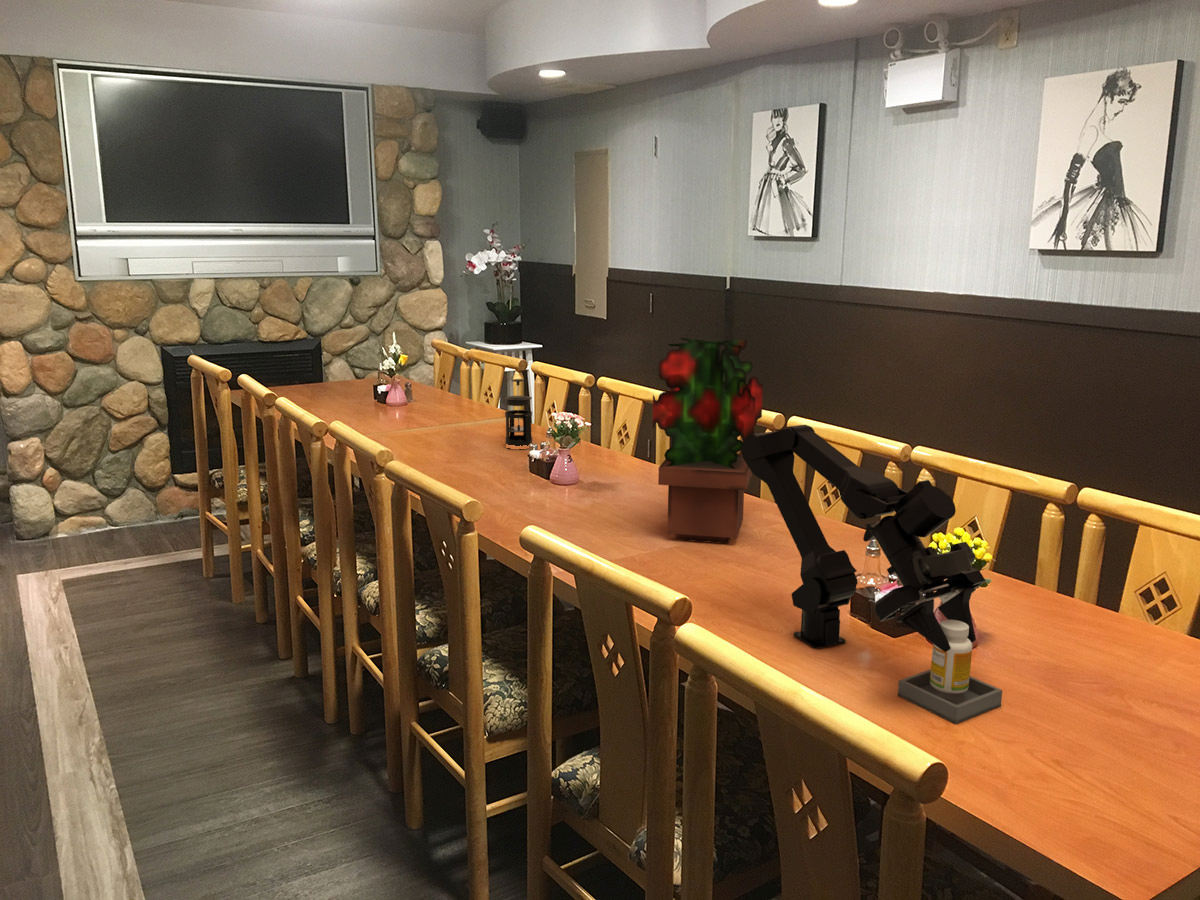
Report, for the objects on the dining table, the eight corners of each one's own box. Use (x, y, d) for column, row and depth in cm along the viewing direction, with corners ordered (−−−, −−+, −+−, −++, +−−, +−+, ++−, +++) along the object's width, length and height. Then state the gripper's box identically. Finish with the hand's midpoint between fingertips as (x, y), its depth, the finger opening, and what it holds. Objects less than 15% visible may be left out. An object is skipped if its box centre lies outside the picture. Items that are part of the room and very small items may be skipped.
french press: (498, 446, 318) (497, 378, 314) (522, 443, 324) (521, 376, 319) (517, 452, 309) (515, 382, 304) (541, 448, 315) (540, 380, 310)
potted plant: (650, 544, 212) (653, 345, 203) (667, 518, 233) (670, 336, 224) (749, 552, 207) (757, 347, 198) (757, 524, 228) (764, 338, 219)
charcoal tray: (897, 695, 140) (899, 680, 140) (942, 679, 146) (943, 664, 145) (955, 724, 132) (957, 707, 131) (1000, 706, 137) (1002, 690, 137)
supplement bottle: (969, 682, 140) (975, 621, 138) (966, 697, 135) (972, 634, 133) (931, 675, 142) (937, 614, 140) (927, 690, 137) (932, 627, 135)
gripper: (896, 535, 132) (956, 637, 125) (980, 516, 142) (1040, 609, 135) (850, 572, 140) (903, 669, 133) (932, 551, 150) (986, 641, 143)
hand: (960, 646), depth 136 cm, fingers closed on supplement bottle, 5 cm apart
